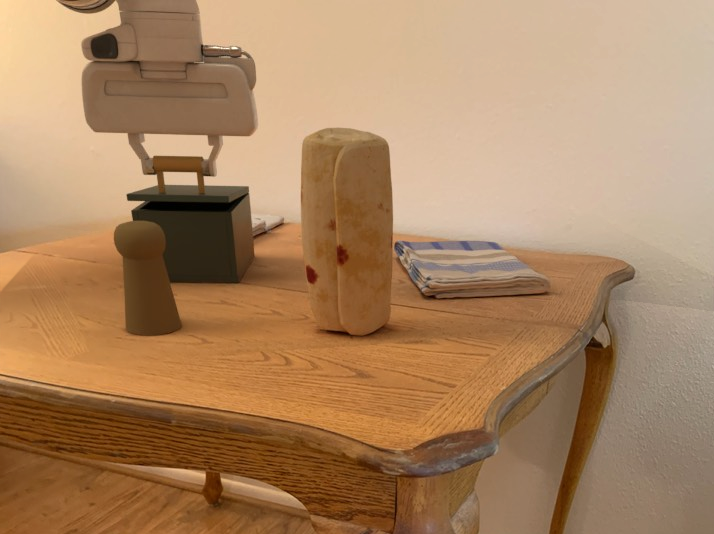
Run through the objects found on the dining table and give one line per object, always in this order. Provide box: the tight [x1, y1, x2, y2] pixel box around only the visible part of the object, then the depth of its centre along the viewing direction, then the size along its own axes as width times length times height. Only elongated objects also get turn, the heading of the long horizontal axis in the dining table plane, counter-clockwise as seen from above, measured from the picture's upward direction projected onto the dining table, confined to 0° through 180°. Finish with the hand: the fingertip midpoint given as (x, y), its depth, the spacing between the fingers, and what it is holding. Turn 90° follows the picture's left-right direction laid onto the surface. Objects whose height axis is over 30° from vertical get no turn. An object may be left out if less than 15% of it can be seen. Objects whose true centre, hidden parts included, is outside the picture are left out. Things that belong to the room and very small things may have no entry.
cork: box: [113, 220, 182, 336], centre depth 83 cm, size 6×6×11 cm
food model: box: [300, 127, 394, 337], centre depth 81 cm, size 10×7×20 cm
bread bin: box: [130, 192, 255, 284], centre depth 105 cm, size 15×13×9 cm
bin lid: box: [126, 155, 250, 203], centre depth 101 cm, size 16×13×5 cm
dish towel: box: [393, 240, 551, 300], centre depth 107 cm, size 17×24×3 cm
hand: (180, 175), depth 96 cm, fingers closed on bin lid, 6 cm apart
